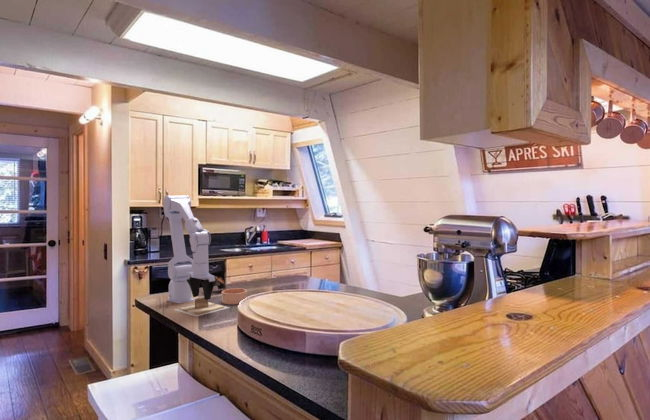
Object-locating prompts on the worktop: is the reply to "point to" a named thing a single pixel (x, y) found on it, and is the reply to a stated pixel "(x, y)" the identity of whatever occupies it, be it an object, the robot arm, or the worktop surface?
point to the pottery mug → (220, 283)
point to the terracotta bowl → (233, 295)
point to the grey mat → (200, 314)
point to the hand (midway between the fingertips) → (201, 297)
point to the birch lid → (201, 307)
